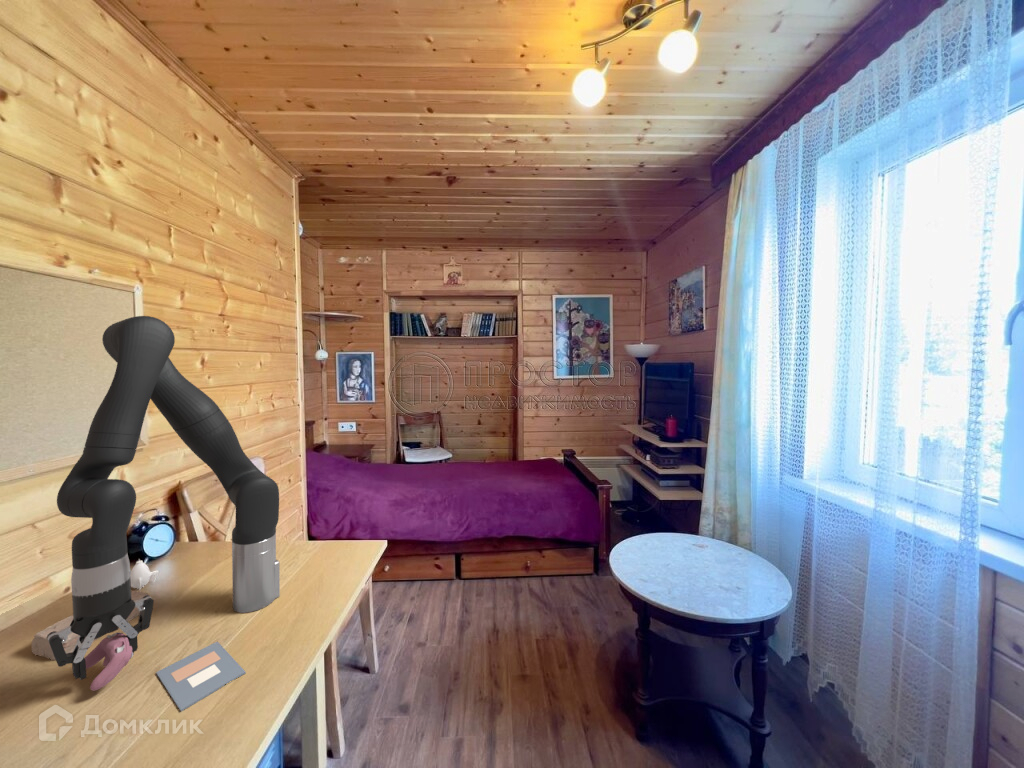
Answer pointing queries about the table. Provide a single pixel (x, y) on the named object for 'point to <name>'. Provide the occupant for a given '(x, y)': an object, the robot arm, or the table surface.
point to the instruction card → (199, 675)
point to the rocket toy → (141, 575)
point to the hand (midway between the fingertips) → (106, 665)
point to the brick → (42, 644)
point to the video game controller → (109, 658)
